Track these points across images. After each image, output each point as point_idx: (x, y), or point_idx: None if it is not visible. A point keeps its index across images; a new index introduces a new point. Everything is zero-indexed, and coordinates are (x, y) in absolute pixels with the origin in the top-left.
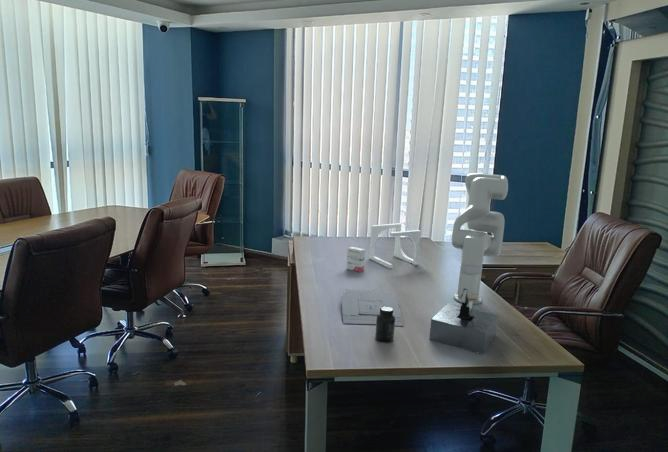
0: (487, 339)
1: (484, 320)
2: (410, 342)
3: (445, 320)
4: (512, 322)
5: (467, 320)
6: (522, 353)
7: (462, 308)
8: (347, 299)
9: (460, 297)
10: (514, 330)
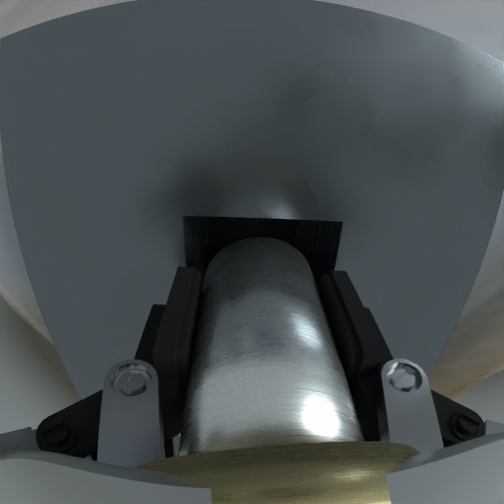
0: None
1: None
2: (11, 9)
3: (39, 151)
4: (497, 340)
5: None
6: None
7: (136, 356)
8: None
9: (150, 462)
10: (436, 365)
